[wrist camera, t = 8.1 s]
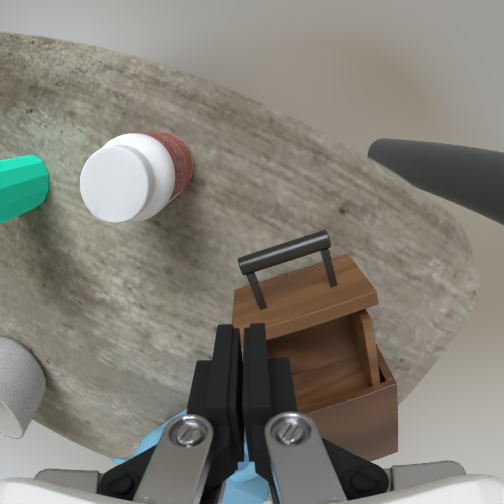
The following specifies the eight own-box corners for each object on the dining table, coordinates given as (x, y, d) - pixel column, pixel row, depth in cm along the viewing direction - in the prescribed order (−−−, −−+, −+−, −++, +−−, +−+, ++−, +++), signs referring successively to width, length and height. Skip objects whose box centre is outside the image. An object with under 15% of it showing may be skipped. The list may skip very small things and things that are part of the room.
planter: (65, 374, 37) (33, 428, 26) (39, 401, 39) (12, 446, 29) (4, 314, 33) (-40, 357, 23) (-13, 350, 36) (-47, 389, 26)
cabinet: (260, 359, 35) (263, 423, 26) (366, 326, 33) (396, 383, 24) (290, 425, 39) (297, 481, 30) (377, 399, 38) (397, 451, 29)
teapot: (279, 399, 37) (287, 488, 25) (263, 462, 43) (265, 532, 30) (137, 384, 37) (107, 466, 24) (152, 450, 42) (135, 517, 30)
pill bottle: (156, 119, 26) (104, 111, 15) (208, 160, 27) (183, 174, 17) (118, 172, 27) (54, 195, 17) (167, 212, 29) (124, 255, 18)
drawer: (217, 246, 29) (206, 284, 22) (336, 207, 28) (365, 232, 20) (272, 379, 35) (277, 430, 27) (367, 349, 34) (389, 396, 26)
